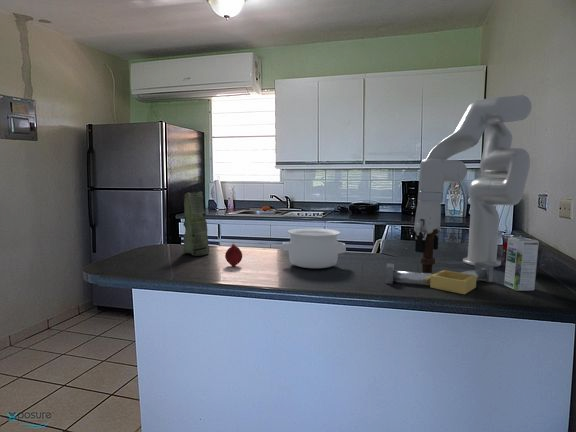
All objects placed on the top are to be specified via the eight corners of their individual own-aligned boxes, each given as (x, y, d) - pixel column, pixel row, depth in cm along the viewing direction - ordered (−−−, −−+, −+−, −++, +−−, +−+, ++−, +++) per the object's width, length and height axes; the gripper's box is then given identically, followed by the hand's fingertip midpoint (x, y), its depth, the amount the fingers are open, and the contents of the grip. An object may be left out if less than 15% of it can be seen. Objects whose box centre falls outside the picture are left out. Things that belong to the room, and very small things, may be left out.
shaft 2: (466, 286, 115) (467, 269, 114) (451, 282, 119) (452, 265, 119) (492, 281, 120) (493, 265, 120) (478, 277, 125) (479, 262, 124)
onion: (245, 265, 137) (245, 242, 136) (236, 269, 132) (236, 245, 131) (231, 263, 139) (231, 241, 139) (221, 267, 134) (221, 244, 133)
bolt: (436, 276, 125) (438, 229, 124) (419, 275, 126) (422, 229, 125) (433, 272, 131) (435, 227, 130) (417, 271, 132) (419, 227, 131)
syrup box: (503, 285, 116) (506, 236, 115) (522, 285, 117) (525, 236, 115) (515, 291, 111) (519, 240, 109) (535, 290, 111) (539, 240, 110)
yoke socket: (442, 281, 120) (443, 269, 120) (475, 287, 114) (476, 275, 113) (430, 287, 113) (430, 275, 113) (464, 294, 107) (465, 281, 106)
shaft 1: (433, 283, 117) (434, 266, 117) (434, 287, 113) (435, 270, 112) (386, 279, 121) (387, 263, 121) (385, 283, 117) (386, 266, 116)
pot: (342, 261, 146) (343, 228, 144) (347, 273, 128) (348, 236, 127) (283, 260, 147) (283, 227, 145) (280, 271, 130) (280, 234, 128)
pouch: (185, 258, 148) (184, 191, 145) (177, 252, 158) (176, 190, 156) (214, 255, 153) (213, 191, 151) (204, 250, 164) (204, 190, 161)
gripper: (429, 197, 135) (426, 246, 137) (407, 197, 122) (403, 251, 124) (452, 198, 130) (448, 249, 132) (430, 198, 117) (426, 255, 119)
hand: (426, 250), depth 128 cm, fingers open, 9 cm apart
